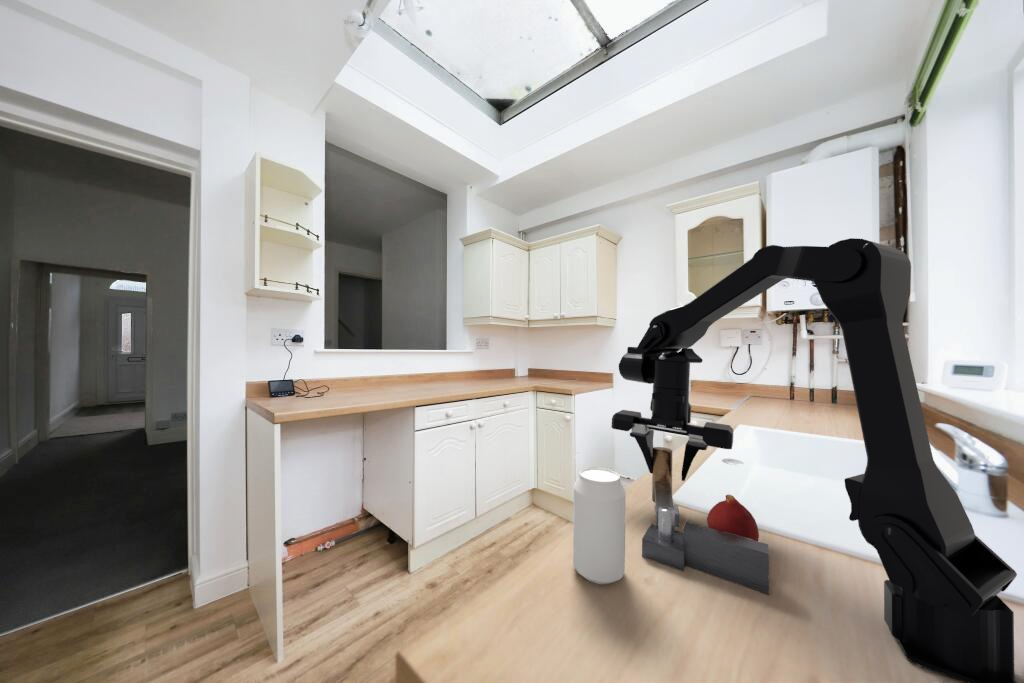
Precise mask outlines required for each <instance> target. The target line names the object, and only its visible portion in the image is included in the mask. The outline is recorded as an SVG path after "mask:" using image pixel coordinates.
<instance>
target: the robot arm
mask: <svg viewBox="0 0 1024 683" xmlns="http://www.w3.org/2000/svg"><path fill="white" fill-rule="evenodd" d="M911 277H912V265H911V260H910V258H909V256H908V255H907V254H906V253H905V252H904V251H902V250H900V249H899V248H896V247H895V248H894V247H892V246H889V245H885V244H882V243H878V242H875V241H871V240H868V239H864V238H846V239H841V240H838V241H837V242H834V243H832V244H830V245H829V246H818V245H817V246H816V245H815V246H813V245H809V246H808V245H799V246H798V245H796V246H781V245H776V244H771V245H766V246H764V247H762V248H760V249H758V250H757V251H756V252H755V253H754V254H753V256H752V257H751V258H750V259H748V260H747V261H745V262H744V263H743V264H741V265H740V266H739V267H738V268H735V269H734V270H733V271H732V272H730V273H729V274H728V275H725V277H723V278H722V279H720V280H719V281H717V283H715V284H713V285H712V286H711V287H709V288H708V289H706V291H704V292H703V293H701V294H699V296H697V297H696V298H694V299H693V300H691V301H690V302H688V303H686V304H683V305H681V306H677V307H673V308H671V309H668V310H666V311H664V312H661V313H660V314H658V315H656V316H654V317H653V318H652V319H651V320H650V322H649V327H648V328H647V330H646V332H645V333H644V335H643V337H642V339H641V340H640V342H639V343H638V345H637V346H636V347H635V346H627V349H626V350H627V351H626V353H624V355H623V356H622V357H621V359H620V361H619V363H618V370H619V375H620V376H621V377H622V378H623V379H624V380H626V381H631V382H636V383H637V382H638V383H643V384H644V383H645V384H650V385H651V384H652V394H651V400H650V406H649V407H650V408H649V410H650V411H651V417H650V418H649V417H642V413H641V412H639V411H635V410H634V411H633V410H628V409H627V410H626V409H622V410H620V411H618V412H615V413H614V414H612V418H611V429H613V430H617V431H624V432H629V431H630V432H629V436H630V437H631V438H634V439H635V441H636V443H637V444H638V445H637V446H639V449H640V450H641V453H642V455H643V458H644V461H645V463H646V466H647V469H648V472H649V474H652V450H653V448H654V433H655V431H658V432H664V433H671V434H676V435H682V436H688V440H687V442H686V443H685V447H684V453H683V454H684V455H683V459H682V460H683V461H682V466H681V467H682V468H681V482H685V480H686V478H687V476H688V474H689V471H690V468H691V466H692V463H693V460H694V459H695V457H696V455H697V453H698V452H699V451H700V450H701V451H707V449H708V447H712V448H713V447H714V448H718V449H722V450H723V449H724V450H732V449H733V444H734V428H733V427H732V426H731V425H729V424H725V423H724V424H723V423H715V422H710V421H706V422H705V423H704V425H703V426H701V425H694V424H691V422H692V421H691V420H692V419H691V418H692V405H691V403H690V402H689V400H690V398H689V396H690V372H691V364H700V363H703V358H702V357H700V356H699V355H698V354H697V353H696V352H695V351H694V349H693V348H691V347H693V346H694V345H695V344H696V343H697V342H698V341H700V340H701V339H702V338H704V336H705V335H706V333H707V331H708V330H709V328H710V326H712V325H713V324H714V323H716V322H717V321H718V320H719V321H720V319H722V318H724V317H725V316H727V315H728V314H730V313H732V312H733V311H735V310H737V309H738V308H740V307H742V306H743V305H744V304H746V303H748V302H749V301H751V300H753V299H754V298H756V297H758V296H759V295H761V294H763V293H764V292H765V291H767V290H769V289H770V288H772V287H774V286H776V285H777V284H779V283H780V282H783V281H784V280H786V279H791V280H801V281H808V282H813V283H814V285H815V287H816V290H817V292H818V295H819V297H820V298H821V302H822V303H823V305H825V307H826V309H828V311H829V312H830V314H831V315H832V317H833V318H834V320H836V323H838V324H839V326H840V329H841V332H842V338H843V341H844V346H845V352H846V357H847V361H848V366H849V373H850V376H851V381H852V382H851V384H852V387H853V391H854V392H853V393H854V397H855V402H856V406H857V412H858V418H859V423H860V428H861V433H862V439H863V444H864V448H865V453H866V460H867V461H866V466H865V469H864V473H861V474H857V475H854V476H850V477H846V478H845V479H844V487H845V491H846V493H847V495H848V496H847V497H848V498H849V502H850V511H851V512H850V514H849V517H848V519H849V520H850V521H851V522H854V521H857V523H858V528H859V531H860V533H861V535H862V537H863V538H864V540H865V541H866V543H867V544H868V545H870V546H872V547H873V548H874V549H875V550H876V552H877V555H878V557H879V559H880V563H881V564H882V567H883V568H884V571H885V574H886V576H887V578H888V579H885V580H884V581H883V595H884V596H883V605H884V607H883V609H884V610H883V614H884V615H883V620H884V621H885V623H886V626H887V628H888V630H889V632H890V634H891V636H892V637H893V638H894V639H895V640H897V643H898V644H899V646H900V648H901V650H902V653H903V655H904V656H905V658H906V659H907V660H909V661H910V662H911V663H914V664H916V665H919V666H921V667H924V668H927V669H928V670H933V671H935V672H938V673H941V674H944V675H946V676H948V677H951V678H955V679H956V680H959V681H962V682H965V683H1018V682H1017V681H1016V679H1015V630H1014V629H1015V621H1014V611H1013V610H1012V609H1011V607H1009V606H1008V605H1007V604H1006V603H1005V602H1004V600H1002V599H1001V598H1000V597H999V596H998V595H999V593H1001V592H1005V591H1006V590H1007V589H1008V588H1009V587H1010V585H1011V584H1012V583H1013V581H1014V580H1015V579H1016V578H1017V575H1018V573H1017V572H1016V571H1015V569H1014V568H1012V567H1011V566H1010V565H1009V564H1008V563H1007V562H1006V561H1005V560H1003V559H1002V558H1001V557H1000V556H999V555H998V554H997V553H996V552H994V550H992V548H990V547H989V546H988V545H987V544H986V543H985V542H984V541H982V539H980V538H979V537H978V536H976V532H975V529H974V528H973V524H972V522H971V521H970V518H969V516H968V514H967V512H966V510H965V507H964V506H963V504H962V502H961V499H960V498H959V495H958V493H957V492H956V490H955V489H954V487H953V486H952V485H951V484H950V482H949V481H948V480H947V478H946V476H944V474H943V473H942V471H941V470H940V469H939V468H938V466H937V464H936V463H935V460H934V457H933V453H932V447H931V443H930V440H929V434H928V430H927V426H926V423H925V417H924V413H923V409H922V405H921V403H922V402H921V400H920V399H921V398H920V394H919V390H918V387H917V386H918V385H917V382H916V377H915V372H914V368H913V365H912V363H913V362H912V359H911V356H910V350H909V347H908V346H909V345H908V342H907V336H906V333H905V328H904V316H905V313H906V310H907V306H908V303H909V300H910V297H911V296H910V295H911V285H912V284H911V279H912V278H911Z"/></svg>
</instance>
